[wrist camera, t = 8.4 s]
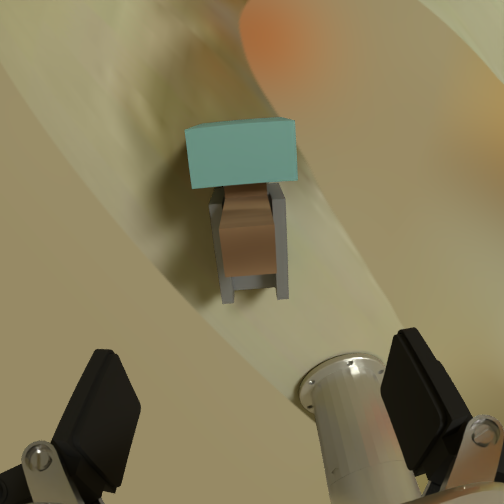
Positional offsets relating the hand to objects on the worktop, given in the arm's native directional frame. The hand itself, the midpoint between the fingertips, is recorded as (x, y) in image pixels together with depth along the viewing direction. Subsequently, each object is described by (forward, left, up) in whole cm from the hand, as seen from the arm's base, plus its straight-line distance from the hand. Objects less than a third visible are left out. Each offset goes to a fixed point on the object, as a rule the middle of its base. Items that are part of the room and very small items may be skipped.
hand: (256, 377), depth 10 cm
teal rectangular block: (+5, 0, -21) cm, 22 cm away
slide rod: (+2, 0, -18) cm, 18 cm away
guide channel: (-3, 0, -21) cm, 22 cm away
